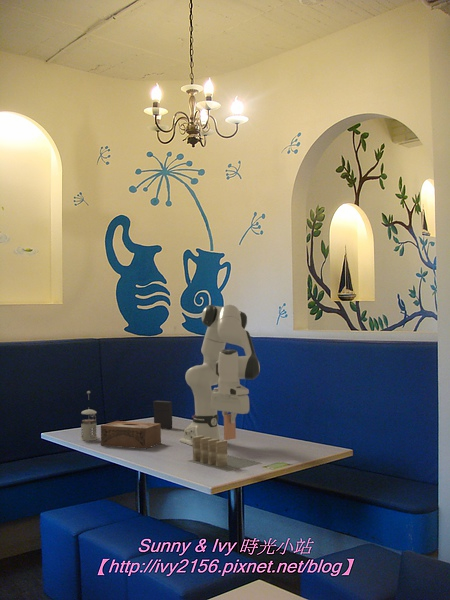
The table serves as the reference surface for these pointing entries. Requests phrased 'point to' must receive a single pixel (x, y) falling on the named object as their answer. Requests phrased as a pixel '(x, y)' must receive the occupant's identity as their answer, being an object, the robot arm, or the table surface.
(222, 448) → the domino
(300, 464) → the table surface
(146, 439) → the tissue box cover
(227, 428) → the end domino
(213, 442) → the domino
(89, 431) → the french press
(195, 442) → the domino
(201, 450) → the domino
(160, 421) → the black rectangular slab
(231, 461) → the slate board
